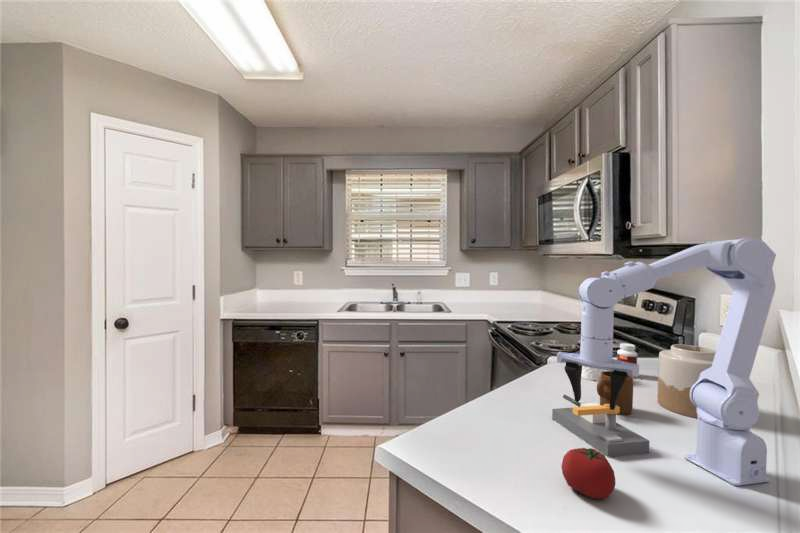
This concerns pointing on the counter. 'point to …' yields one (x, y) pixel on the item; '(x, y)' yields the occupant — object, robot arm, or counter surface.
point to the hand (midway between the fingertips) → (594, 404)
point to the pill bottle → (627, 354)
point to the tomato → (588, 472)
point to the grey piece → (602, 433)
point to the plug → (591, 418)
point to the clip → (595, 410)
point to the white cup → (591, 373)
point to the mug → (623, 397)
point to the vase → (681, 376)
